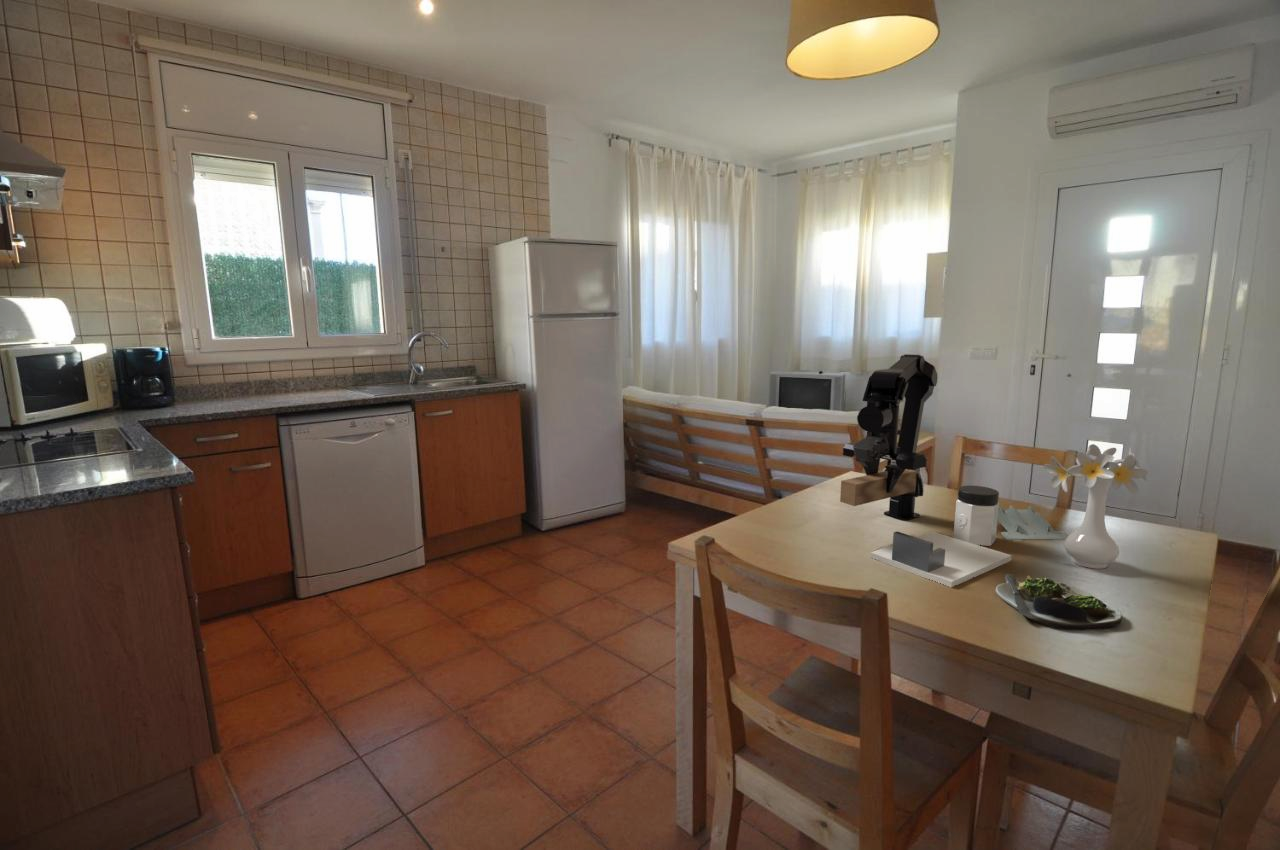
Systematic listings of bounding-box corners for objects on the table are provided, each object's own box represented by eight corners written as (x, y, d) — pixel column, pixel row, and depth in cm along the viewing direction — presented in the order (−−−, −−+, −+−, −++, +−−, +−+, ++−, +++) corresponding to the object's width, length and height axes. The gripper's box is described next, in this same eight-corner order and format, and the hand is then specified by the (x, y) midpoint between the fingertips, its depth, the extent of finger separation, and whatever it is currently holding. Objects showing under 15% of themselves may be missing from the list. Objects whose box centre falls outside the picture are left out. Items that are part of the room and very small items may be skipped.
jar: (945, 535, 144) (949, 486, 142) (972, 531, 147) (976, 483, 144) (975, 548, 136) (980, 497, 134) (1004, 544, 138) (1009, 493, 136)
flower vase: (1024, 555, 131) (1036, 443, 127) (1097, 549, 134) (1111, 439, 130) (1076, 581, 119) (1091, 456, 114) (1156, 573, 122) (1173, 452, 117)
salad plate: (966, 584, 119) (968, 561, 118) (1054, 581, 120) (1056, 559, 119) (1035, 634, 100) (1038, 608, 99) (1138, 630, 101) (1142, 604, 100)
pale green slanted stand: (981, 501, 152) (1041, 501, 151) (975, 521, 154) (1034, 520, 154) (1012, 536, 139) (1078, 536, 139) (1005, 556, 141) (1070, 556, 141)
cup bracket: (908, 553, 130) (910, 527, 129) (944, 565, 124) (946, 538, 123) (891, 559, 127) (893, 532, 126) (927, 572, 120) (929, 544, 119)
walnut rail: (900, 487, 150) (902, 467, 149) (915, 491, 147) (916, 471, 146) (840, 501, 139) (841, 480, 138) (854, 506, 136) (855, 484, 135)
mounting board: (931, 536, 144) (931, 531, 143) (1011, 560, 129) (1011, 555, 129) (870, 557, 131) (870, 552, 131) (951, 587, 116) (951, 581, 116)
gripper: (829, 423, 144) (826, 487, 146) (900, 435, 128) (895, 506, 131) (859, 418, 150) (855, 480, 152) (930, 430, 134) (925, 497, 137)
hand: (880, 490), depth 143 cm, fingers closed on walnut rail, 4 cm apart
